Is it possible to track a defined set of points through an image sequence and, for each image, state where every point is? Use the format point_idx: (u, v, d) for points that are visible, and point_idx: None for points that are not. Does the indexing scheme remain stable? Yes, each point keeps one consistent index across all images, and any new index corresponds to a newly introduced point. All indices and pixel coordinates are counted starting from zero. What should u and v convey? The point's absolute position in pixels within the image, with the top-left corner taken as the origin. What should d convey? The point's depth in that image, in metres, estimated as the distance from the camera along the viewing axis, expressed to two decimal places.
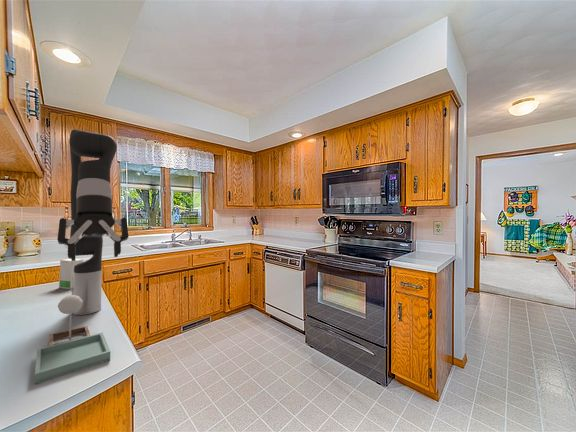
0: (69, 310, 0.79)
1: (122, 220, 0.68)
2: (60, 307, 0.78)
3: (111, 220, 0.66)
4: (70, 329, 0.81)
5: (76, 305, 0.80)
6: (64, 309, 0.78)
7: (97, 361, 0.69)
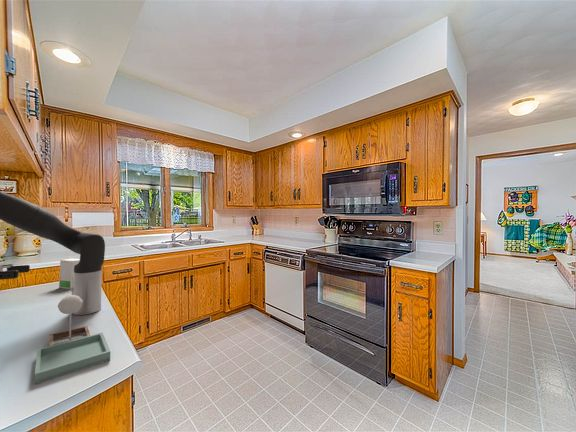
0: (69, 310, 0.79)
1: None
2: (60, 307, 0.78)
3: None
4: (70, 329, 0.81)
5: (76, 305, 0.80)
6: (64, 309, 0.78)
7: (97, 361, 0.69)
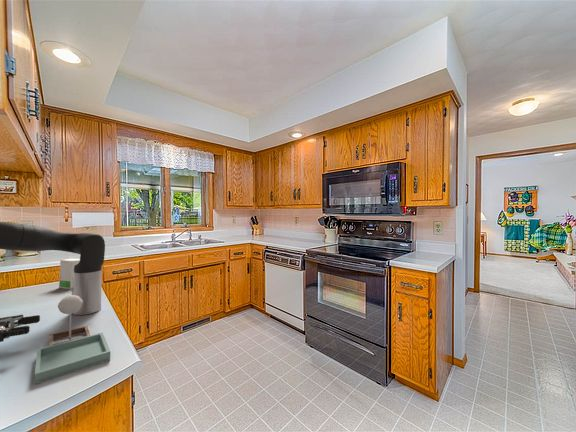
0: (69, 310, 0.79)
1: None
2: (60, 307, 0.78)
3: None
4: (70, 329, 0.81)
5: (76, 305, 0.80)
6: (64, 309, 0.78)
7: (97, 361, 0.69)
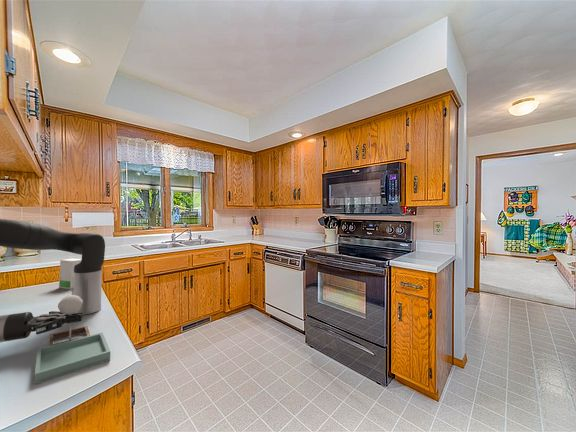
0: (69, 310, 0.79)
1: None
2: (60, 307, 0.78)
3: None
4: (70, 329, 0.81)
5: (76, 305, 0.80)
6: (64, 309, 0.78)
7: (97, 361, 0.69)
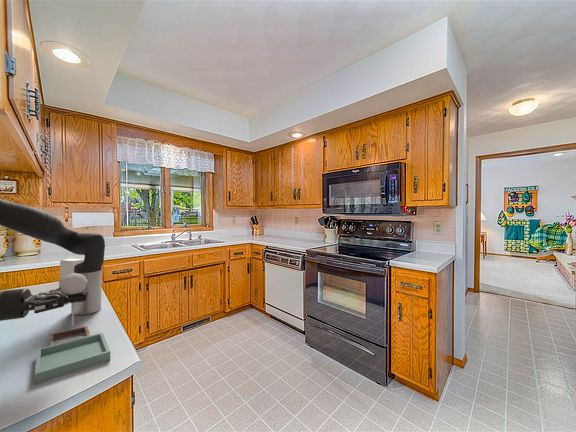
0: (72, 290, 0.69)
1: None
2: (62, 286, 0.68)
3: None
4: (73, 312, 0.71)
5: (80, 284, 0.70)
6: (67, 288, 0.68)
7: (97, 361, 0.69)
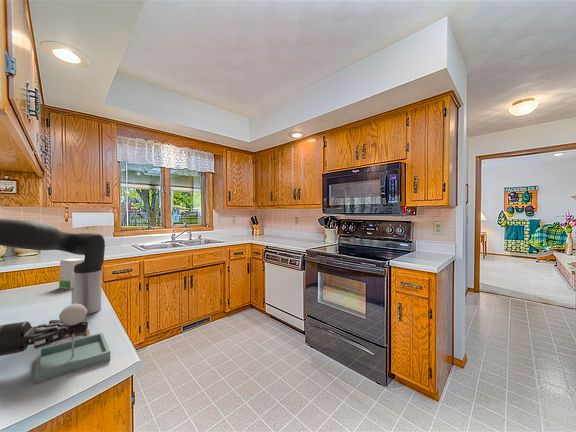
0: (72, 321, 0.69)
1: None
2: (62, 318, 0.68)
3: None
4: (73, 343, 0.71)
5: (80, 315, 0.70)
6: (67, 320, 0.68)
7: (97, 361, 0.69)
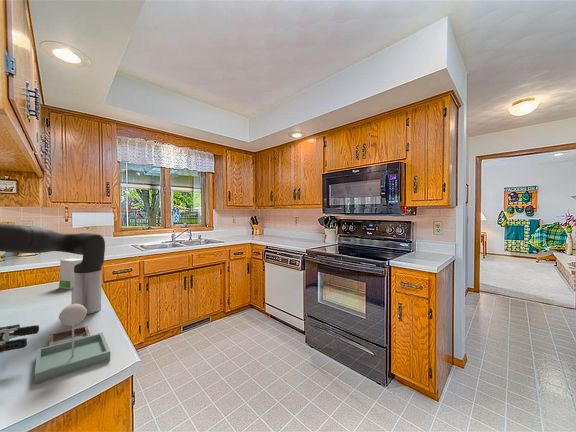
0: (72, 321, 0.69)
1: None
2: (61, 318, 0.68)
3: None
4: (73, 343, 0.71)
5: (80, 315, 0.70)
6: (66, 320, 0.68)
7: (97, 361, 0.69)
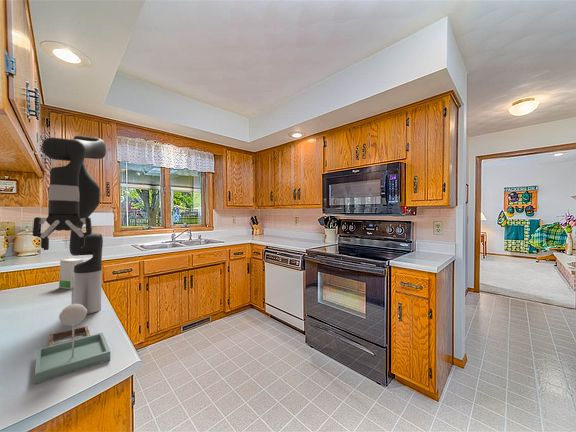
0: (72, 321, 0.69)
1: (86, 220, 0.83)
2: (62, 318, 0.68)
3: (76, 219, 0.82)
4: (73, 343, 0.71)
5: (80, 315, 0.70)
6: (67, 320, 0.68)
7: (97, 361, 0.69)
